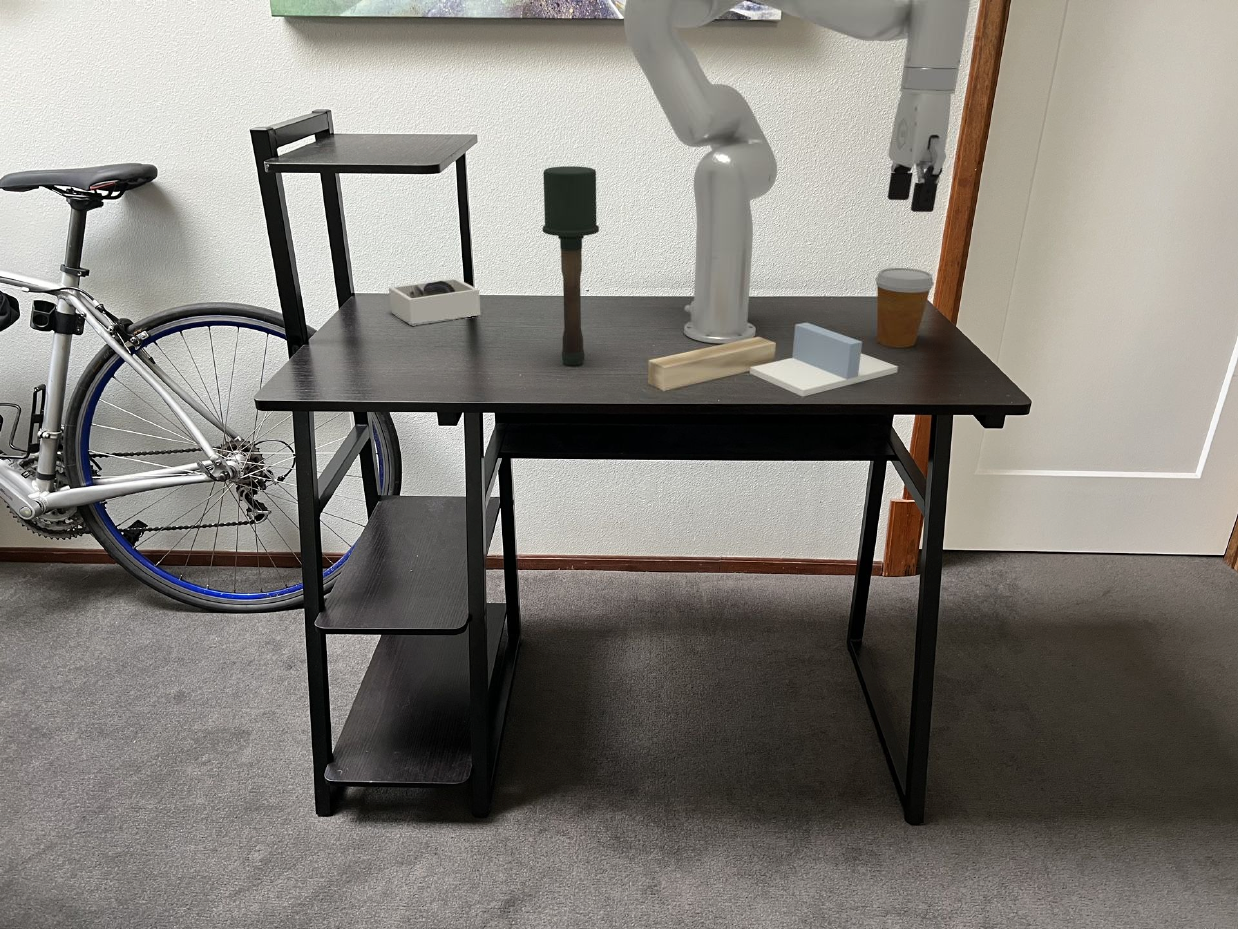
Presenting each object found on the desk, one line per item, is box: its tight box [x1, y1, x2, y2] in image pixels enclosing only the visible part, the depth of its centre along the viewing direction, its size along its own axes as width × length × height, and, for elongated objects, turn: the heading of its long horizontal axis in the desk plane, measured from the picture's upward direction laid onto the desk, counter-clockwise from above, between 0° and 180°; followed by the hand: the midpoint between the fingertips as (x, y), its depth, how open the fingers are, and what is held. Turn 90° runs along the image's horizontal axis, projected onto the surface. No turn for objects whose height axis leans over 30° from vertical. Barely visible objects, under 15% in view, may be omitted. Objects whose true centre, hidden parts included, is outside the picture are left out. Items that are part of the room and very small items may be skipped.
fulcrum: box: [749, 322, 899, 397], centre depth 142 cm, size 12×20×6 cm, turn 123°
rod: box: [647, 336, 777, 392], centre depth 142 cm, size 4×22×4 cm, turn 123°
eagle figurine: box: [407, 280, 455, 298], centre depth 171 cm, size 8×7×9 cm
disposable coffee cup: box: [874, 267, 935, 349], centre depth 155 cm, size 10×10×12 cm
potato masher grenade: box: [542, 165, 600, 366], centre depth 140 cm, size 8×9×30 cm
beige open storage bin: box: [388, 277, 482, 324], centre depth 171 cm, size 11×14×5 cm
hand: (909, 205), depth 136 cm, fingers open, 9 cm apart
